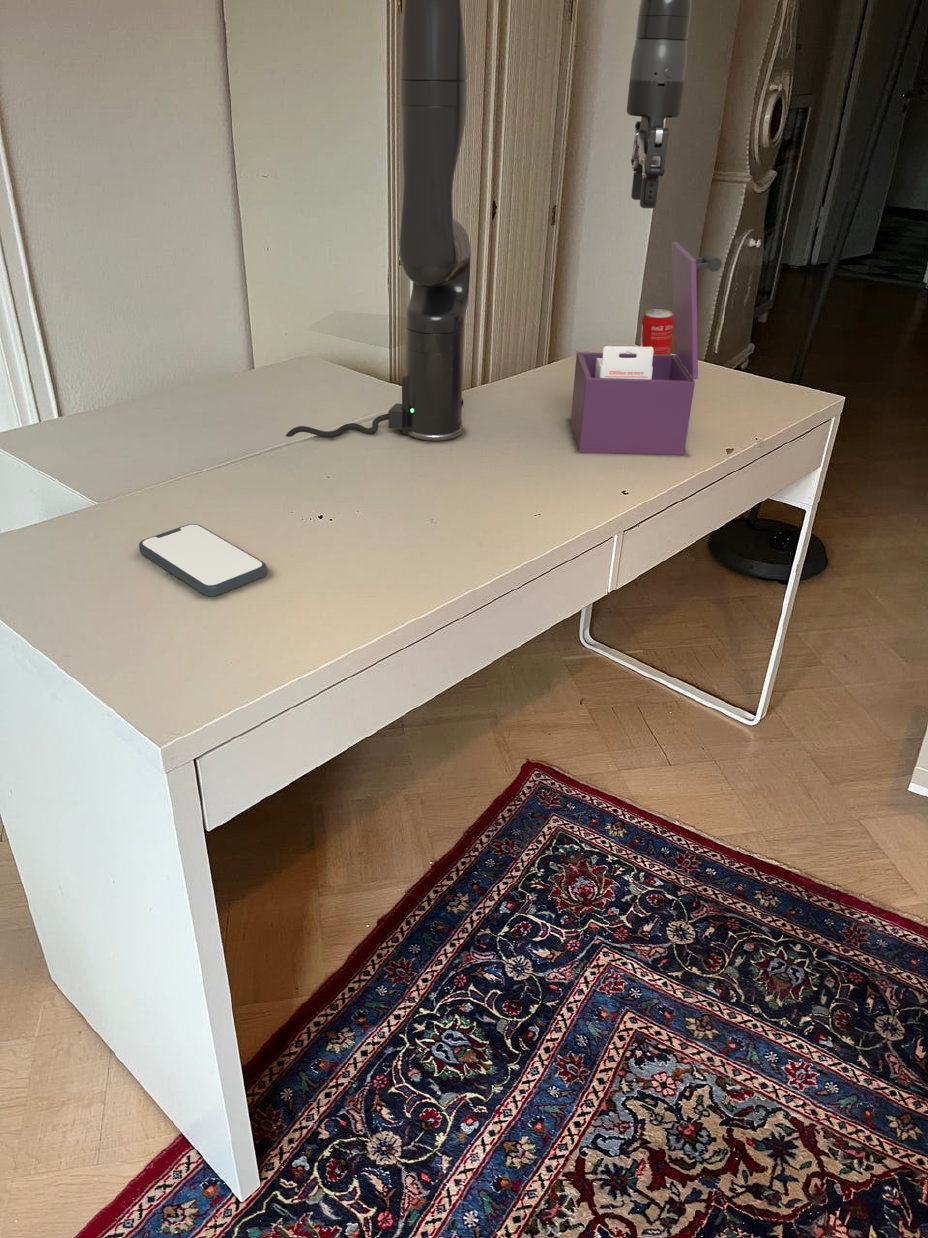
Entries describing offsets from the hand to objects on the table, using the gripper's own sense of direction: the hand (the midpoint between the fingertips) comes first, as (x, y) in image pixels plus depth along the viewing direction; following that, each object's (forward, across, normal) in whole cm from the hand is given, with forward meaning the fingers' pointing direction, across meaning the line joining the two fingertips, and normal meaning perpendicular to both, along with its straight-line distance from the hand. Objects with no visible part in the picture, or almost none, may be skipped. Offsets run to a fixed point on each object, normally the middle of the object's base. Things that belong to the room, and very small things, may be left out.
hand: (642, 203), depth 141 cm
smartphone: (+36, +49, -57) cm, 84 cm away
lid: (+15, 0, +8) cm, 17 cm away
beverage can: (+36, -25, +10) cm, 45 cm away
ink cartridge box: (+35, 0, 0) cm, 35 cm away
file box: (+36, 0, +2) cm, 36 cm away
